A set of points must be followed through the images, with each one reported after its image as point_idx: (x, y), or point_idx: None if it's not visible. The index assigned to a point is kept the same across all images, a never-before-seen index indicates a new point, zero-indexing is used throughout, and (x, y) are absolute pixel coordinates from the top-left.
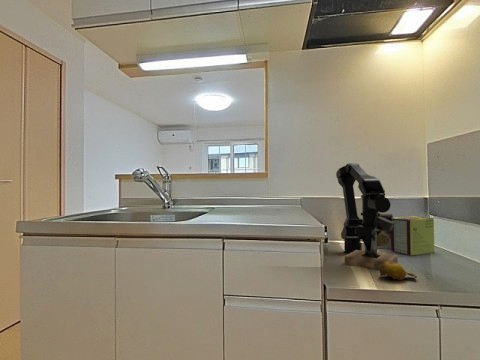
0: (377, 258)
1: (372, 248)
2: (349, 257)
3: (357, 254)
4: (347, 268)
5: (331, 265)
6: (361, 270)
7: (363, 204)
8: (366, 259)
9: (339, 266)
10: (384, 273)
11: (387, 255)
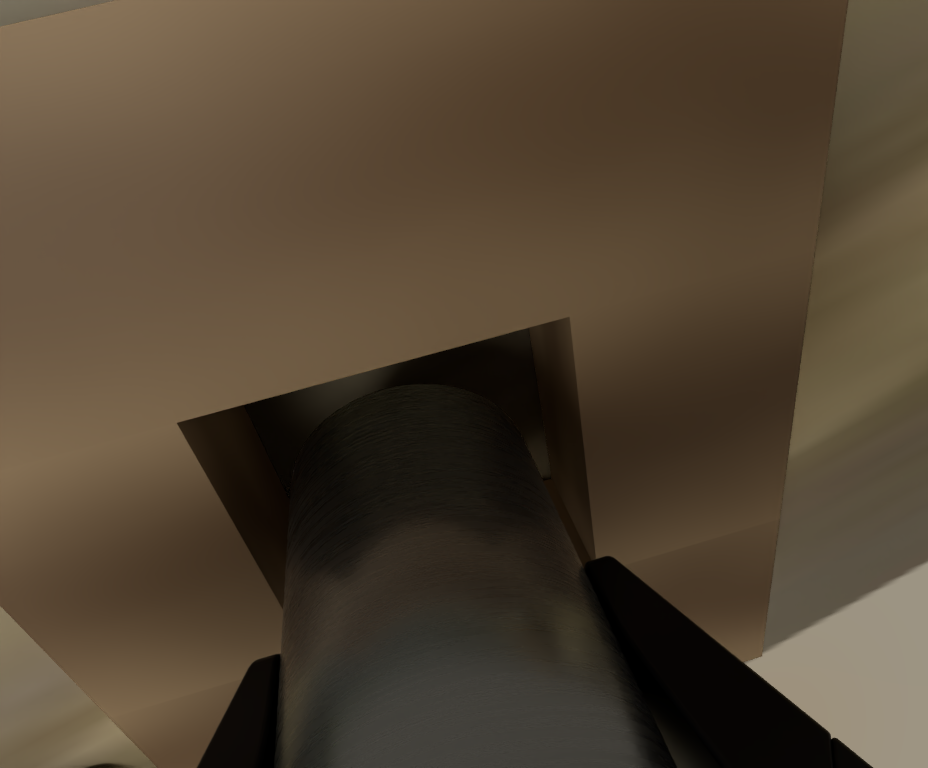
0: (575, 298)
1: (580, 589)
2: (762, 600)
3: None
4: (890, 432)
5: (839, 586)
6: (914, 269)
7: None
8: (795, 386)
9: (840, 527)
10: None
11: (16, 317)
